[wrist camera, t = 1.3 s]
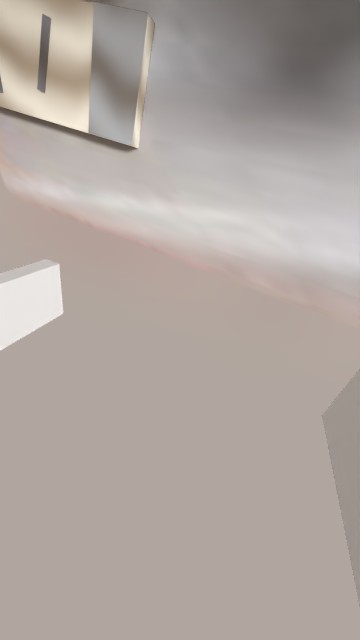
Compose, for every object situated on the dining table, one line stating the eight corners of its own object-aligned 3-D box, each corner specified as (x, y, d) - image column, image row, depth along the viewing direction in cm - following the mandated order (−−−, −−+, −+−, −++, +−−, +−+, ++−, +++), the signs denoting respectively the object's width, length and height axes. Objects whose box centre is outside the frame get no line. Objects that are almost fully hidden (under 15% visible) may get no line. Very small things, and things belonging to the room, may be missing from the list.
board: (-42, -18, 26) (-59, -30, 25) (154, 23, 23) (146, 12, 21) (-24, 99, 32) (-38, 95, 30) (138, 148, 28) (131, 145, 27)
